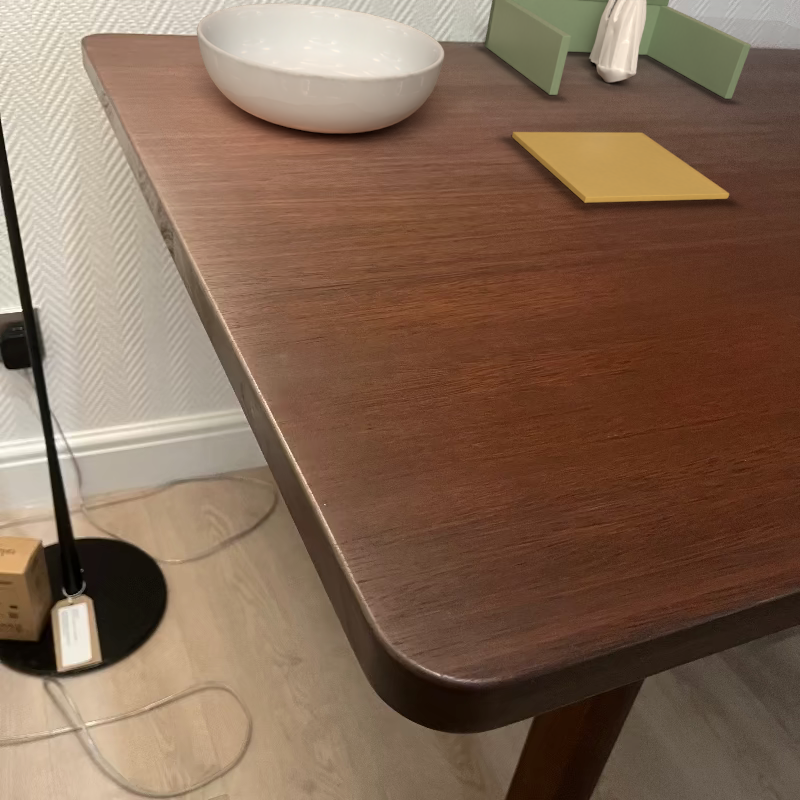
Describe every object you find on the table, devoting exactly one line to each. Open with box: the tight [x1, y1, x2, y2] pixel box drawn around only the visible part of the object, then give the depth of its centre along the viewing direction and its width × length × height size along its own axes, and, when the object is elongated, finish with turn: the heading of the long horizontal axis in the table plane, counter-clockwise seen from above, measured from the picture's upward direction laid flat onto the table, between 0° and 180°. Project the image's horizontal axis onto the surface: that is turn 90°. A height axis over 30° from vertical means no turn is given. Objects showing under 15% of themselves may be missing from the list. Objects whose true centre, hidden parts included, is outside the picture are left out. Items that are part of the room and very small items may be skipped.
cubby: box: [483, 0, 752, 100], centre depth 95 cm, size 24×18×7 cm
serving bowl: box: [196, 2, 445, 134], centre depth 71 cm, size 21×21×7 cm
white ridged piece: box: [588, 0, 646, 83], centre depth 93 cm, size 12×4×11 cm, turn 173°
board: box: [511, 131, 730, 204], centre depth 71 cm, size 14×14×1 cm
